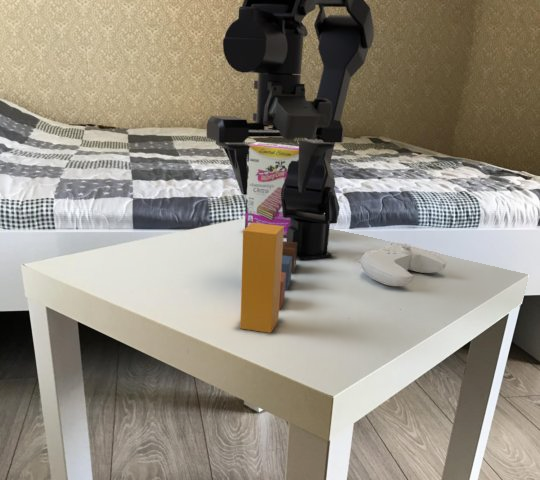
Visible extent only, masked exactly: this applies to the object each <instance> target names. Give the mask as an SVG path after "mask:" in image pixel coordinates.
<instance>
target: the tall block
mask: <svg viewBox="0 0 540 480" xmlns="http://www.w3.org/2000/svg"><path fill="white" fill-rule="evenodd" d="M283 235H284V226H279V225H270V224H261V223H251V224H250V225H249V226H248V227H247V228H245V227H244V229H243V231H242V255H241V285H240V286H241V287H240V288H241V289H240V292H241V293H240V325H239V328H240V329H241V330H247V331H255V332H260V333H268V334H271V333H272V332H273V330H274V328H275V327H276V325H277V324H278V322H279V317H280V309H279V300H280V284H281V268H282V251H283V241H284V237H283Z"/></svg>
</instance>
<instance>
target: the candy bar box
mask: <svg viewBox="0 0 540 480" xmlns="http://www.w3.org/2000/svg"><path fill="white" fill-rule="evenodd" d="M248 145H249V146H250V148H249V152H248V155H247V181H248V185H247V194H246V195H245V218H244V229H245V228H247V227H248V226H249V225H250V224H251V223H261V224H270V225H279V226H284V235H283V238H287V228H288V226H290V218H283V211H282V201H281V190H282V186H283V184H284V182H285V179H286V176H287V171H288V165H289V164H290V162H291V161H297V160H298V159H299V145H291V144H290V145H289V144H280V143H271V142H265V141H264V142H262V141H255V142H251V143H248Z"/></svg>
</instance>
